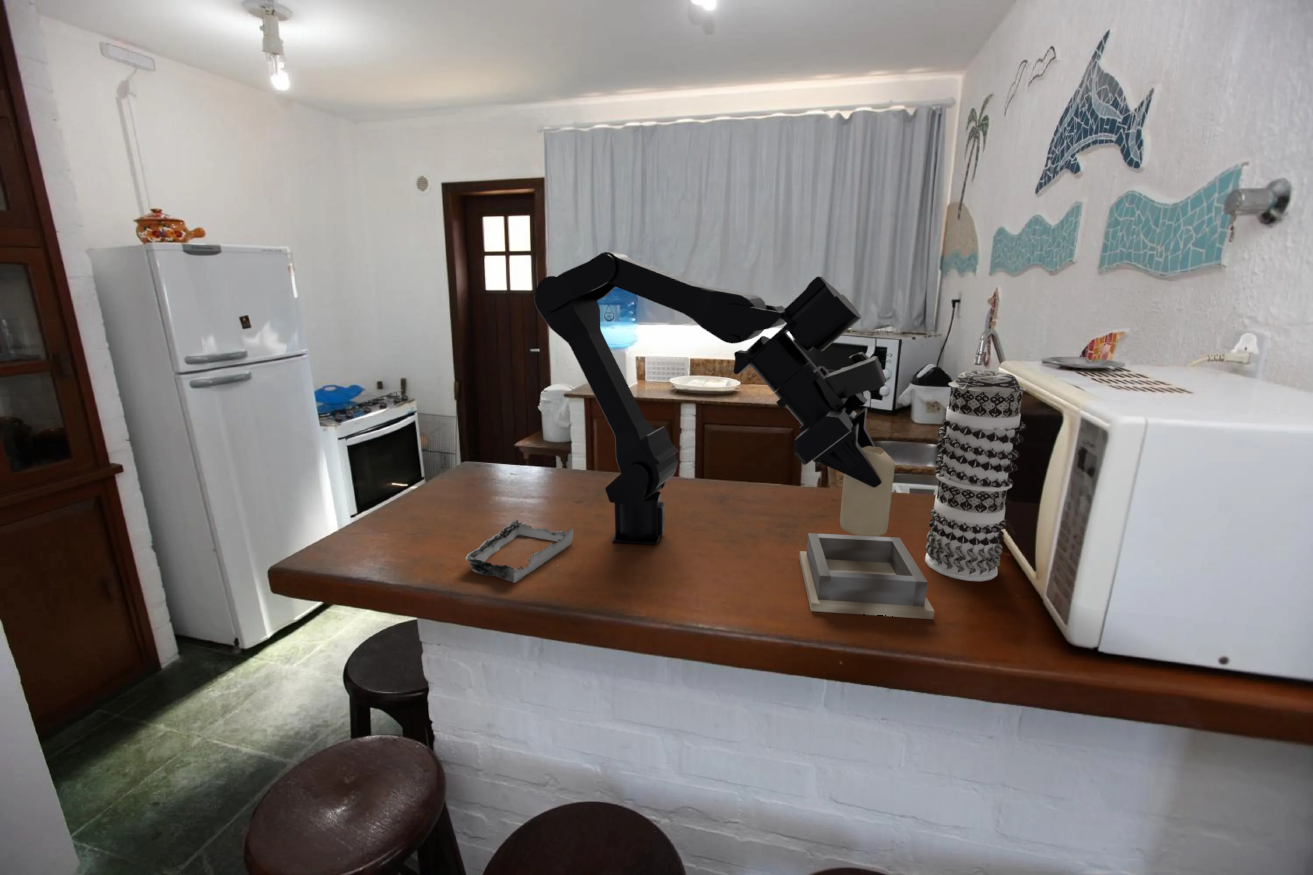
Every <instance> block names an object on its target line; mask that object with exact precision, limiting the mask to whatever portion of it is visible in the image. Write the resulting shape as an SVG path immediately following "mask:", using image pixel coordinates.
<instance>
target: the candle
mask: <svg viewBox="0 0 1313 875" xmlns="http://www.w3.org/2000/svg"><path fill="white" fill-rule="evenodd" d="M861 449H862V450H863V452H864V453H865V455H866V456H867V458H868V460H869V461H870V463H871V464H872V466H873V467H874V469H875V471H876V472H877V474H878V476H879V477H880V479H881V481H882V483H881V484H880V485H878V486H877V487H875V488H874V487H871V486H869V485H867V484H865V483H863V482H861V481H859V480H857V479H854V478H852V477H850V476H848V475H846V474H844V473H843V479H842V480H843V483H842V493H841V504H840V514H839V515H840V516H839V526H840V528H841V529H842V530H843V531H845V532H847V533H850V534H851V535H852V534H853V535H856V536H869V537H874V536H876V537H882V536H883V535H885V534H886V533H887V531H888V527H889V521H890V520H889V519H890V510H891V502H892V493H893V484H894V479H895V478H894V477H895V468H896V462H895V461H894V459H893V458H892V457H891V456H890V455H889V454H888V453H887V452H886V451H885V450H884V449H883V448H882V447H880V446H875V447H872V446H866V447H864V448H861Z"/></svg>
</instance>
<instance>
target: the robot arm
mask: <svg viewBox="0 0 1313 875" xmlns="http://www.w3.org/2000/svg"><path fill="white" fill-rule="evenodd" d="M616 288H618V289H620V290H622V291H626V292H629V293H631V294H634V295H636V296H638V297H640V298H644V299H646V300H649V301H650V302H653V303H656V304H658V305H661V306H663V307H666V308H668V309H671V310H673V311H676V312H678V313H682V314H684V315H685V316H687V317H688V318H690V319H691V320H693V322H695V323H696V324H697V325H698V326H699V327H700V328H701V329H703V330H705V331H706V332H708V333H710V334H711V335H713V336H714V337H716V338H717V339H719V340H720V341H721V342H722V341H723V342H724V343H728V344H740V343H743V342H746V341H749V340H752V339H754V338H756V337H759V336H760V335H761V334H762V333H763V332H764V331H765V330H769V329H773V328H776V327H780V326H782V328H781V329H779V331H777V332H776V333H775V334H774V335H773V336H772V337H770V338H769V337H768V336H765V335H761V336H760V337H759V338H758V339H757V340H756V341H755V342H754V343H753V344H752V345H751V346H750V347H749V348H747V349H746V350H742V349H740V350H737V351H735V352H733V356H734V363H733V364H734V365H733V370H732V372H733V374H734V375H739V374H741V373H743V372H746V371H747V370H748V369H749V368H750V367H751V368H752V369H753V371H755V373H756V374H757V375H758V376H759V377H760V378H761V379H762V380H763V382H764V383H765V384H766V385H767V386H768V388H769V389H770V390H771V391H772V392H773V393H774V394H775V396H776V397H777V398H778V400H777V401H776V403H775V404H776V405H777V406H778V407H780V409H782V410H783V408H784V407H786V409H787V410H788V411H789V412H790V413H791V414H792V415H793V417H795V419H796V420H797V421H798V422H799V424H800V425H801V426H800V427H799V428H798V430H799V431H800V432H801V433H800V434H799V435H798V436H797V437H796V438H795V439H794V441H793V449H792V450H793V451H792V453H793V454H794V455H795V456H796V457H797V459H798V460H799V461H800V462H801V464H802V465H803V466H807V464H809V463H810V462H813V463H815V464H817V463H818V464H821V465H823V466H826V467H828V468H830V469H833V470H835V471H837V472H840V473H842V474H843V475H844V474H846V475H848V476H850V477H852V478H854V479H857V480H859V481H861V482H863V483H865V484H867V485H869V486H871V487H874V488H875V487H877V486H878V485H880V484H881V483H882V481H881V479H880V477H879V476H878V474H877V472H876V471H875V469H874V467H873V466H872V464H871V463H870V461H869V460H868V458H867V456H866V455H865V453H864V452H863V450H862V449H861V448H864V447H866V446H872V447H876V445H875V444H874V441H873V440H872V437H871V436H870V434H869V431H868V429H867V428H866V427H867V426H866V422H867V413H868V407H864V408H863V409H861V410H860V411H859V412H856V411H855V410H857V409H858V408H859V407H863V406H864V405H866V404H867V402H868V399H867V398H866V396H865V395H863V393H864V392H867V391H870V392H871V391H872V392H873V391H876V390H878V389H881V388H883V387H885V386H886V383H887V379H886V376H885V374H884V370H883V368H882V363H881V362H880V360H879V357H878V356H875V355H873V356H872V357H869V356H868V355H867V354H866V353H865V352H863V351H861V352H857V353H856V354H853V355H850V356H849V357H848V361H847V362H848V363H847V366H845V367H841V368H840V369H838V370H834V371H832V372H830V371H829V370H828V369H827V368H826V366H823V365H822V366H821V365H819V366H818V367H817V366H816V364H814V363H813V361H812V360H811V359H810V358H809V357H808V356H807V354H805V352H804V351H803V350H802V349H801V348H800V346H801V347H802V348H803V349H804V350H805V351H808V352H811V350H813V349H814V348H815V349H816V350H818V351H819V352H824V351H825V350H826V349H827V348H828V347H829V346H831V345H832V344H833V343H834V342H835V341H836V340H838V339H840V337H841V336H842V335H843V334H845V333H846V332H847V331H848V330H849V329H851V328H852V327H853V326H854V325H855V324H856V323H857V322H858V321H860V320H861V319H862V316H861V314H860V313H859V311H858V310H857V308H856V307H855V306H854V304H853V303H852V302H851V301H850V300H849V299H848V298H847V296H846V295H845V294H841V293H840V292H839V291H838V290H837V289H836V288H835V287H834V286H833V285H831V284H830V283H828V281H827V280H826V279H825V278H824V277H823V276H816V277H815V278H813V280H811V281H810V282H809V283H808V285H807V287H806V288H805V289H804V290H803V291H802V292H801V293H800V294H799V295H797V297H796V298H795V299H793V301H791V303H790V304H789V305H788V306H786V307H784V306H783V305H777V306H776V305H771V304H766V302H765V300H764V299H762V297H760V296H759V295H757V294H755V293H750V292H745V291H738V290H732V289H726V288H718V287H712V286H706V285H702V284H698V283H696V282H693V281H691V280H688V279H686V278H683V277H680V276H678V275H675V274H672V273H670V272H667V271H664V270H661V269H659V268H657V267H653V266H651V265H650V264H646V263H643V262H641V261H638V260H635V259H632V258H630V257H629V256H627V255H626V254H624V253H620V252H610V251H604V252H600V254H597V255H596V256H595V257H593V258H591V259H590V260H589V261H586V262H584V263H582V264H579V265H577V266H575V267H572V268H570V269H568V270H566V271H564V272H562V273H560V274H559V275H547V276H546V277H544V278H542V279H541V280H540V281H539V283H538V284H537V287H536V290H535V295H534V296H533V299H534V305H535V307H536V309H537V311H538V313H539V314H540V315H541V317H542V318H543V320H544V321H545V323H546V324H547V325H548V327H549V329H551V330H552V331H553V332H554V333H555V334H557V335H558V336H559V337H560V338H561V339H562V340H563V341H565V342H566V343H567V344H568V346H569V347H570V349H571V351H572V353H573V355H574V357H575V360H576V361H577V363H578V365H579V367H580V370H582V374H583V375H584V377H585V379H586V381H587V383H588V385H589V387H590V389H591V391H592V394H593V395H594V397H595V399H596V401H597V403H598V405H599V407H600V409H601V411H602V413H603V415H604V417H605V419H606V421H607V423H608V425H609V427H610V429H611V431H612V433H613V435H614V439H615V440H614V442H615V460H616V463H617V466H618V470H619V472H620V474H619V475H618V476H616V477H615V479H614V480H612V481H611V482H610V483H609V484H608V485H607V486H606V487H605V493H606V495H607V498H608V501H609V502H610V503H611V504H612V503H613V504H614V505H613V506H614V534H613V536H612V542H613V543H619V544H620V543H621V544H639V545H642V544H643V545H657V544H658V543H659V540H660V537H661V536H663V534H664V530H665V524H666V523H665V514H666V513H665V510H666V509H665V502H664V501H663V502H662V500H661V498H662V497H661V493H662V492H661V491H660V490H662V489H664V488H665V485H666V483H667V481H668V480H670V479H671V478H672V477H673V476H674V475H675V473H676V471H677V468H678V465H679V462H678V461H679V460H678V457H677V455H676V454H677V453H678V452H679V449H678V448H677V447H676V446H675V445H674V443H672V440H671V438H670V434H669V431H668V429H667V427H666V426H662V427H660V428H658V429H656V428H655V427H653V426H652V425H651V424H650V423H648V421H647V420H646V418H645V416H644V415H643V412H642V411H641V409H640V405H638V403H637V401H636V399H635V397H634V395H633V393H632V391H631V389H630V386H629V385H628V382H627V380H626V379H625V377H624V375H623V372H622V371H621V368H620V367H619V365H618V363H617V361H616V358H615V357H614V355H613V352H612V350H611V348H610V346H609V344H608V343H607V342H608V341H607V340H606V338H605V336H604V334H603V332H602V329H601V309H600V305H599V302H598V301H600V300H601V299H604V298H606V297H607V296H608V295H609V294H610V293H612V292H613V291H614V290H615V289H616ZM783 325H784V326H783ZM788 332H789V334H790V335H788ZM791 336H792V338H793V339H794V340H795V341H796V342H797V343H796V342H795V341H794V340H793V339H792V338H791ZM797 344H798V345H800V346H798V345H797Z"/></svg>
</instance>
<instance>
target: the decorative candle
mask: <svg viewBox="0 0 1313 875" xmlns="http://www.w3.org/2000/svg"><path fill="white" fill-rule="evenodd" d="M947 385H949V386H950V387H951V388H950V394H949V401H948V402H949V403H948V406H947V407H946V413H945V414H946V415H945V419H943V420H942V422H941V424H942V425H943V426H941V427H939V428H938V433H937V437H938V438H939V439H938V440H937V444H936V448H937V449H938V450H939V452H940V454H937V456H936V460H935V464H936V465H937V466H936V467H935V471H934V473H935V477H936V478H937V480H938V487H937V494H935V499H934V505H933V507H932V508H931V510H930V512H929V514H930V516H931V517H932V518H931V519H930V520H929V522H928V526H929V528H930V529H931V530H929V531H928V533H927V536H926V540H927V543H926V544H925V545H926V546H925V553H926V554H925V557H924V561H925V563H926V564H927V566H928V567H929V568H931V569H932V570H934V571H935V572H937V573H939V574H941V575H943V576H946V577H949V578H952V579H956V580H962V581H965V582H966V581H967V582H968V581H969V582H985V581H991V580H993V579H995V578H996V577H997V576H998V566H1000V565H1001V562H1000V561H1001V557H1000V556H1001V555H1002V553H1003V550H1002V549H1003V546H1002V545H1001V544H1000V542H1002V541H1004V540H1005V537H1004V535H1005V532H1004V530H1005V529H1006V528H1007V520H1006V519H1005V513H1006V505H1005V503H1006V497H1007V492H1008V490H1009V489H1011V488H1012V487H1013V485H1014V482H1013V480H1012V479H1011V478H1009V474H1011V473H1013V472H1017V470H1018V466H1017V464H1015V463H1014V462H1013V461H1015V460H1018V459H1019V458H1020V456H1021V455H1020V453H1019V452H1018V450H1016V449H1015V448H1014V447H1013V446H1014V444H1015V445H1016V446H1017V445H1018V444H1020V443H1021V444H1022V443H1023V442H1024V440H1025V438H1024V437H1023V435H1021V434H1019V433H1017V434H1016V432H1017V431H1018V432H1021V431H1024V430H1026V429H1027V425H1026V423H1024V422H1023V421H1021V416H1022V415H1021V412H1020V411H1021V404H1022V399H1023V393H1024V392H1025V391H1026V390H1027V389H1026V388H1025V387H1023V386H1021V385H1020V384H1019V381H1018V379H1017V378H1016V376H1015V375H1013V374H1011V373H1006V372H1001V371H992V370H967V371H964V372H961V373H960V374H959V375H958V376H956V378H955V379H954V381H951V382H948V384H947Z"/></svg>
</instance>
